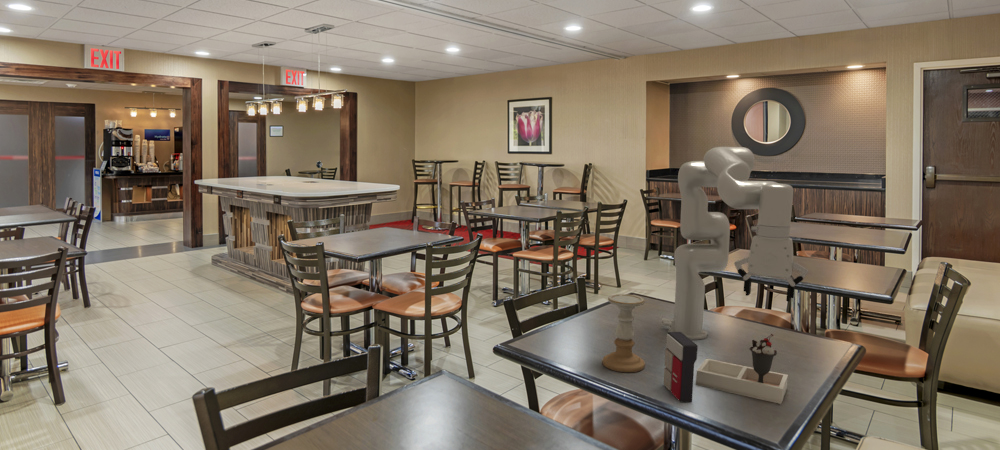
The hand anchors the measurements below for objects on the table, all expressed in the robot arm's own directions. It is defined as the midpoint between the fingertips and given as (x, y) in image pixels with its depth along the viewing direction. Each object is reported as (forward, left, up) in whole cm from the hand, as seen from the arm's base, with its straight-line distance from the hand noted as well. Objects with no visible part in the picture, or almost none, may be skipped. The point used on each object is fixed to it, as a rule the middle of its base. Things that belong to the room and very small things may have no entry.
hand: (767, 297), depth 147 cm
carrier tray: (-5, 0, -25) cm, 26 cm away
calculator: (-18, -14, -26) cm, 34 cm away
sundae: (0, 0, -25) cm, 25 cm away
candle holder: (-37, -3, -26) cm, 45 cm away
